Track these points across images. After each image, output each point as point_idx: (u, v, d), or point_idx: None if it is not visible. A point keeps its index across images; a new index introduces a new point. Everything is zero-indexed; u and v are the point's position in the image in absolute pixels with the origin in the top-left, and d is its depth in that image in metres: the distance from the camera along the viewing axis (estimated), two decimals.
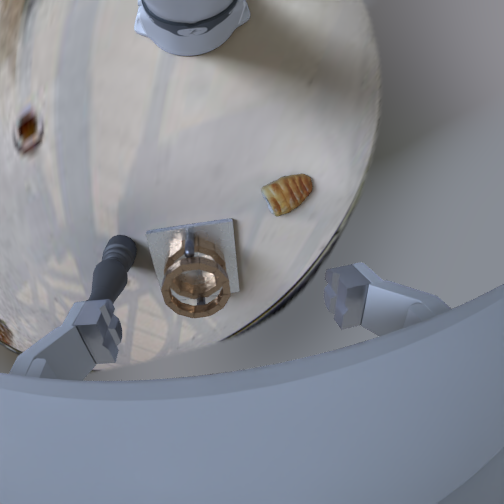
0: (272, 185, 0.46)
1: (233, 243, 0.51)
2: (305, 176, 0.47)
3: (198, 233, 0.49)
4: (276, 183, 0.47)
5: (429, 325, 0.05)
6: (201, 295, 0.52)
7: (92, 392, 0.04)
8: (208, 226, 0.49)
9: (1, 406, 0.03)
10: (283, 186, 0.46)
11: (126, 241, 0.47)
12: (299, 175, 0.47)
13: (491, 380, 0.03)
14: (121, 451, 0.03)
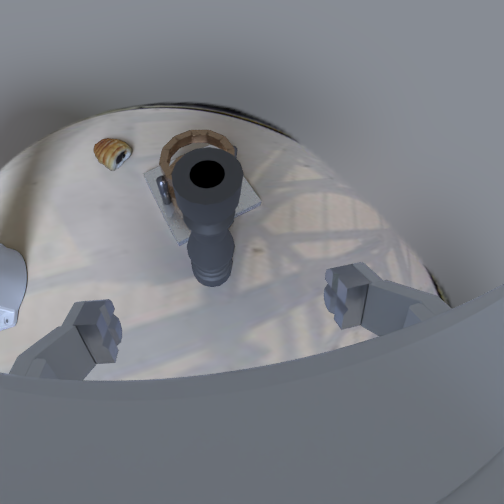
0: (104, 162, 0.46)
1: None
2: (94, 148, 0.48)
3: None
4: (102, 161, 0.47)
5: (429, 325, 0.05)
6: None
7: (92, 392, 0.04)
8: (153, 189, 0.46)
9: (1, 406, 0.03)
10: (101, 154, 0.46)
11: None
12: None
13: (491, 380, 0.03)
14: (121, 451, 0.03)
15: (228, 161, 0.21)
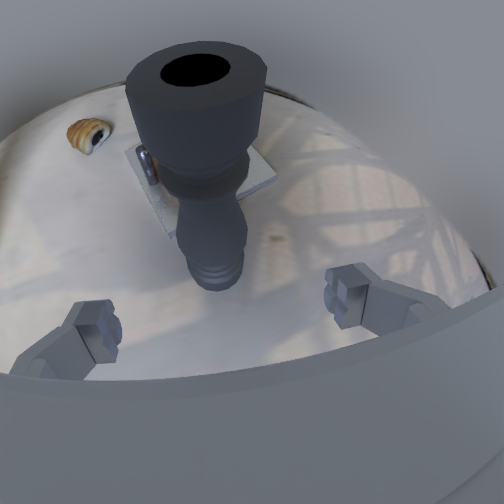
0: (77, 145, 0.35)
1: None
2: (67, 132, 0.36)
3: None
4: (76, 145, 0.35)
5: (429, 325, 0.05)
6: None
7: (92, 392, 0.04)
8: (135, 168, 0.34)
9: (1, 406, 0.03)
10: (74, 137, 0.34)
11: None
12: None
13: (491, 380, 0.03)
14: (121, 451, 0.03)
15: (236, 53, 0.09)
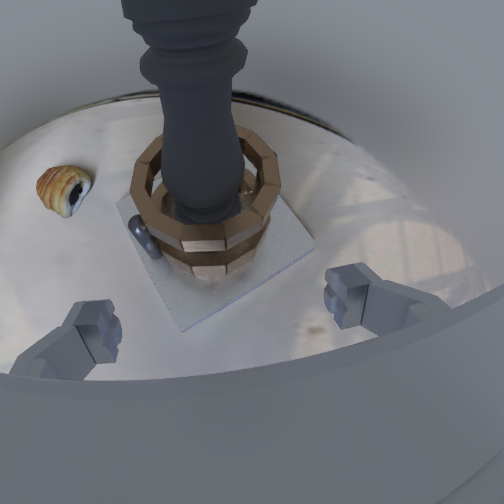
0: (52, 208, 0.26)
1: None
2: (36, 186, 0.28)
3: None
4: (50, 206, 0.27)
5: (429, 325, 0.05)
6: (252, 181, 0.26)
7: (92, 392, 0.04)
8: (131, 231, 0.27)
9: (1, 406, 0.03)
10: (45, 196, 0.26)
11: None
12: None
13: (491, 379, 0.03)
14: (121, 451, 0.03)
15: None
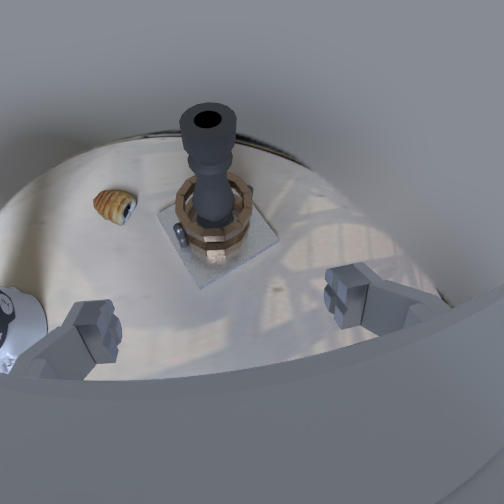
0: (110, 219, 0.46)
1: None
2: None
3: None
4: (108, 218, 0.47)
5: (429, 325, 0.05)
6: (240, 202, 0.47)
7: (92, 392, 0.04)
8: (168, 231, 0.47)
9: (1, 406, 0.03)
10: (105, 211, 0.46)
11: None
12: (95, 208, 0.47)
13: (491, 380, 0.03)
14: (121, 451, 0.03)
15: (224, 110, 0.25)
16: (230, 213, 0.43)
